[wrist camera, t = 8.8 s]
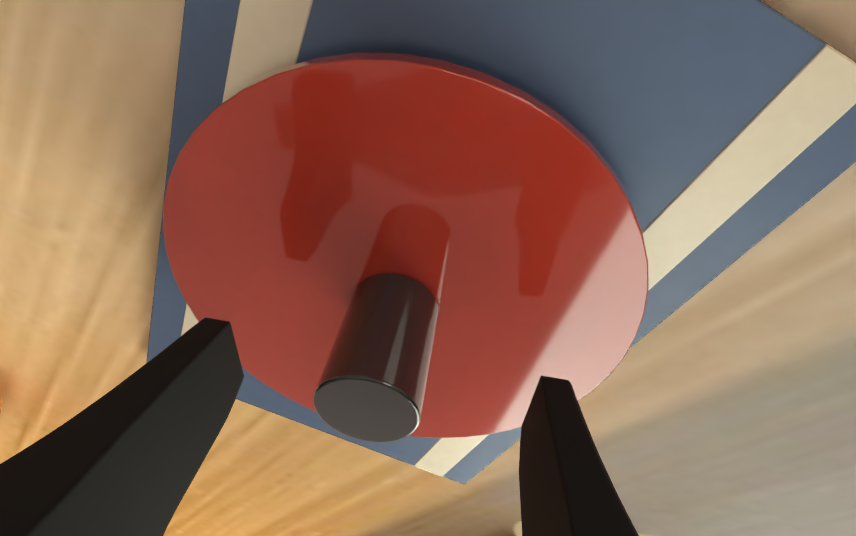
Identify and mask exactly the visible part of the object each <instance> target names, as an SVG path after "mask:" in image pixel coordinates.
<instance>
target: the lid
mask: <svg viewBox="0 0 856 536" xmlns="http://www.w3.org/2000/svg"><path fill="white" fill-rule="evenodd" d="M163 232H164V239H165V246H166V252H167V256H168V259H169V263H170V266H171V269H172V272H173V276H174V278H175V280H176V282H177V285H178V287H179V289H180V291H181V293H182V295H183V298H184V299H185V301H186V303H187V304H188V306H189V307H190V309H191V311H192V312H193V314H194V316H195V317H196V319H197V320H198V321H201V320H202V319H203V318H205V317H206V318H212V319H218V320H224V321H229V322H230V323H231V327H232V331H233V335H234V338H235V342H236V346H237V350H238V354H239V358H240V362H241V366H242V367H243V368H244V369H245V370H246V371H247V372H249V373H250V374H252V375H253V376H254V377H256V378H257V379H258V380H260V381H261V382H263V383H264V384H265V385H267V386H269V387H270V388H272V389H274V390H275V391H277V392H278V393H280V394H282V395H283V396H285V397H287V398H289V399H291V400H293V401H295V402H297V403H299V404H301V405H302V406H304V407H307V408H309V409H311V410H314V411H316V412H317V413H318V415H319V416H320V418H321V419H322V420H323V421H324V422H325V423H327V424H328V425H329V426H330V427H332V428H333V429H335V430H337V431H338V432H340V433H342V434H345V435H347V436H350V437H353V438H356V439H359V440H364V441H370V442H392V441H397V440H400V439H403V438H405V437H408V436H414V437H430V438H456V437H471V436H480V435H488V434H493V433H498V432H503V431H508V430H512V429H515V428H519V427H521V426H522V423H523V421H524V418H525V416H526V413H527V410H528V408H529V405H530V403H531V400H532V397H533V395H534V392H535V390H536V387H537V384H538V382H539V379H540V377H541V376H547V377H553V378H559V379H565V380H569V382H570V383H571V384H572V386H573V389H574V392H575V395H576V398H577V401H579V400H580V399H581V398H583V397H584V396H586V395H587V394H589V393H590V392H591V391H593V390H594V389H595V388H596V387H597V386H598V385H599V384H600V383H601V382H602V381H604V380H605V379H606V378H607V377H608V376H609V375H610V374H611V372H612V371H613V370H614V369H615V367H616V366H617V365H618V364H619V363H620V361H621V360H622V359H623V358H624V356H625V354H626V353H627V351H628V349H629V347H630V346H631V344H632V342H633V340H634V339H635V337H636V334H637V331H638V329H639V326H640V323H641V321H642V318H643V315H644V312H645V306H646V300H647V294H648V288H649V284H648V258H647V253H646V248H645V243H644V238H643V233H642V230H641V227H640V224H639V222H638V219H637V217H636V214H635V212H634V209H633V207H632V204H631V202H630V199H629V196H628V194H627V192H626V191H625V189H624V187H623V186H622V184H621V182H620V181H619V179H618V178H617V176H616V174H615V173H614V171H613V169H612V168H611V166H610V165H609V163H608V162H607V161H606V160H605V159H604V158H603V156H602V155H601V154H600V153H599V152H598V151H597V149H596V148H595V147H594V146H593V145H592V144H591V142H590V141H589V140H588V139H587V138H586V137H585V136H584V135H583V134H582V133H580V132H579V131H578V130H577V129H576V128H575V127H574V126H572V125H571V124H570V123H569V122H568V121H567V120H565V119H564V118H563V117H562V116H561V115H560V114H559V113H557V112H556V111H554V110H553V109H551V108H550V107H548V106H546V105H545V104H543V103H542V102H540V101H539V100H537V99H536V98H534V97H532V96H531V95H529V94H528V93H526V92H525V91H523V90H521V89H519V88H517V87H514V86H512V85H510V84H508V83H506V82H504V81H501V80H499V79H497V78H495V77H493V76H491V75H488V74H486V73H484V72H481V71H477V70H474V69H471V68H467V67H464V66H461V65H457V64H454V63H451V62H448V61H444V60H439V59H433V58H427V57H420V56H414V55H408V54H401V53H351V54H343V55H335V56H328V57H320V58H316V59H312V60H309V61H305V62H302V63H298V64H295V65H291V66H288V67H284V68H282V69H279V70H277V71H275V72H273V73H271V74H269V75H267V76H265V77H262V78H260V79H258V80H256V81H254V82H252V83H250V84H249V85H247V86H246V87H244V88H243V89H242V90H240V91H239V92H237V93H236V94H234V95H233V96H232V97H230V98H229V99H227V100H226V101H225V102H223V103H222V104H221V105H219V106H218V107H217V108H216V109H215V110H214V111H213V112H212V113H211V114H210V115H209V116H208V117H207V118H206V119H205V120H204V121H203V122H202V123H201V124H200V125H199V126H198V127H197V128H196V129H195V130H194V132H193V133H192V135H191V136H190V138H189V139H188V141H187V142H186V144H185V145H184V147H183V148H182V150H181V151H180V153H179V155H178V157H177V160H176V162H175V165H174V167H173V169H172V172H171V174H170V177H169V180H168V185H167V190H166V195H165V200H164V207H163Z"/></svg>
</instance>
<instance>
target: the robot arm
mask: <svg viewBox="0 0 856 536" xmlns="http://www.w3.org/2000/svg"><path fill="white" fill-rule="evenodd" d="M243 378H244V374H243V370H242V366H241V362H240V358H239V354H238V350H237V346H236V342H235V338H234V335H233V331H232V327H231V323H230V322H229V321H224V320H218V319H212V318H206V317H205V318H203V319H202V320H201V321H199V322H198V323H197V324H196V325H194V326H193V327H192V328H190V329H189V330H188V331H187V332H185V333H184V334H183V335H182V336H180V337H179V338H178V339H177V340H175V341H174V342H173V343H172V344H170V345H169V346H168V347H167V348H165V349H164V350H163V351H162V352H160V353H159V354H158V355H157V356H155V357H154V358H153V359H152V360H150V361H149V362H148V363H146V364H145V365H144V366H143V367H141V368H140V369H139V370H137V371H136V372H135V373H133V374H132V375H131V376H129V377H128V378H127V379H126V380H124V381H123V382H122V383H120V384H119V385H118V386H116V387H115V388H114V389H112V390H111V391H110V392H108V393H107V394H106V395H104V396H103V397H101V398H100V399H99V400H97V401H96V402H94V403H93V404H91V405H90V406H89V407H87V408H86V409H84V410H83V411H82V412H80V413H79V414H77V415H76V416H75V417H73V418H72V419H70V420H69V421H67V422H66V423H64V424H63V425H61V426H60V427H58V428H57V429H55V430H54V431H52V432H51V433H49V434H48V435H46V436H45V437H43V438H42V439H40V440H39V441H37V442H36V443H34V444H32V445H31V446H29V447H28V448H26V449H24V450H23V451H21V452H19V453H18V454H16V455H15V456H13V457H11V458H10V459H8V460H6V461H5V462H3V463H1V464H0V536H163V535H164V532H165V530H166V528H167V526H168V524H169V522H170V520H171V518H172V516H173V514H174V512H175V511H176V509H177V507H178V505H179V503H180V501H181V500H182V498H183V496H184V494H185V493H186V491H187V489H188V487H189V485H190V484H191V482H192V480H193V478H194V477H195V475H196V473H197V471H198V469H199V468H200V466H201V464H202V462H203V461H204V459H205V457H206V455H207V454H208V452H209V450H210V448H211V446H212V445H213V443H214V441H215V439H216V437H217V436H218V434H219V432H220V430H221V428H222V427H223V425H224V423H225V421H226V419H227V417H228V415H229V413H230V410H231V408H232V406H233V403H234V401H235V399H236V396H237V394H238V391H239V388H240V386H241V383H242V381H243ZM519 481H520V500H521V518H522V536H639V535H638V533H637V532H636V530H635V528H634V526H633V524H632V522H631V520H630V518H629V516H628V514H627V512H626V510H625V508H624V506H623V504H622V502H621V500H620V498H619V496H618V494H617V492H616V490H615V488H614V486H613V484H612V482H611V479H610V477H609V475H608V473H607V471H606V469H605V466H604V464H603V462H602V460H601V458H600V456H599V453H598V451H597V449H596V446H595V444H594V442H593V439H592V437H591V434H590V432H589V429H588V427H587V425H586V422H585V419H584V417H583V414H582V412H581V409H580V406H579V404H578V401H577V398H576V395H575V392H574V389H573V386H572V384H571V383H570V382H569V380H565V379H559V378H553V377H547V376H541V377H540V379H539V382H538V384H537V387H536V390H535V392H534V395H533V397H532V400H531V403H530V405H529V408H528V410H527V413H526V416H525V418H524V421H523V423H522V426H521V441H520V461H519Z"/></svg>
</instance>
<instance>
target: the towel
mask: <svg viewBox="0 0 856 536" xmlns="http://www.w3.org/2000/svg"><path fill="white" fill-rule="evenodd" d="M351 53H401V54H408V55H414V56H420V57H427V58H433V59H439V60H444V61H448V62H451V63H454V64H457V65H461V66H464V67H467V68H471V69H474V70H477V71H481V72H484V73H486V74H488V75H491V76H493V77H495V78H497V79H499V80H501V81H504V82H506V83H508V84H510V85H512V86H514V87H517V88H519V89H521V90H523V91H525V92H526V93H528V94H529V95H531V96H532V97H534V98H536V99H537V100H539V101H540V102H542V103H543V104H545V105H546V106H548V107H550V108H551V109H553V110H554V111H556V112H557V113H559V114H560V115H561V116H562V117H563V118H564V119H565V120H567V121H568V122H569V123H570V124H571V125H572V126H574V127H575V128H576V129H577V130H578V131H579V132H580V133H582V134H583V135H584V136H585V137H586V138H587V139H588V140H589V141H590V142H591V144H592V145H593V146H594V147H595V148H596V149H597V151H598V152H599V153H600V154H601V155H602V156H603V158H604V159H605V160H606V161H607V162H608V163H609V165H610V166H611V168H612V169H613V171H614V173H615V174H616V176H617V178H618V179H619V181H620V182H621V184H622V186H623V187H624V189H625V191H626V192H627V194H628V196H629V199H630V202H631V204H632V207H633V209H634V212H635V214H636V217H637V219H638V222H639V224H640V227H641V230H642V233H643V238H644V243H645V248H646V253H647V258H648V284H649V288H648V294H647V300H646V306H645V312H644V315H643V318H642V321H641V323H640V326H639V329H638V331H637V334H636V337H635V339H634V340H633V342H632V344H631V346H630V347H632V346H633V345H634V344H635V343H637V342H638V341H639V340H640V339H641V338H643V337H644V336H645V335H646V334H647V333H649V332H650V331H651V330H652V329H654V328H655V327H656V326H657V325H658V324H660V323H661V322H662V321H663V320H664V319H666V318H667V317H668V316H669V315H670V314H672V313H673V312H674V311H675V310H677V309H678V308H679V307H680V306H681V305H683V304H684V303H685V302H686V301H687V300H689V299H690V298H691V297H692V296H694V295H695V294H696V293H697V292H698V291H700V290H701V289H702V288H703V287H704V286H706V285H707V284H708V283H709V282H710V281H712V280H713V279H714V278H715V277H717V276H718V275H719V274H720V273H721V272H723V271H724V270H725V269H726V268H727V267H729V266H730V265H731V264H732V263H734V262H735V261H736V260H737V259H738V258H740V257H741V256H742V255H743V254H744V253H746V252H747V251H748V250H749V249H750V248H752V247H753V246H754V245H755V244H757V243H758V242H759V241H760V240H761V239H763V238H764V237H765V236H766V235H767V234H769V233H770V232H771V231H772V230H774V229H775V228H776V227H777V226H778V225H780V224H781V223H782V222H783V221H784V220H786V219H787V218H788V217H789V216H790V215H792V214H793V213H794V212H795V211H797V210H798V209H799V208H800V207H801V206H803V205H804V204H805V203H806V202H807V201H809V200H810V199H811V198H812V197H813V196H815V195H816V194H817V193H818V192H820V191H821V190H822V189H823V188H824V187H826V186H827V185H828V184H829V183H830V182H832V181H833V180H834V179H835V178H837V177H838V176H839V175H840V174H841V173H843V172H844V171H845V170H846V169H847V168H849V167H850V166H851V165H852V164H853V163H855V162H856V62H854V61H853V60H851V59H850V58H848V57H847V56H845V55H844V54H842V53H840V52H839V51H837V50H836V49H834V48H833V47H831V46H830V45H828V44H826V43H825V42H823V41H822V40H820V39H819V38H817V37H816V36H814V35H812V34H811V33H809V32H808V31H806V30H805V29H803V28H802V27H800V26H799V25H797V24H795V23H794V22H792V21H791V20H789V19H788V18H786V17H785V16H783V15H782V14H780V13H778V12H777V11H775V10H774V9H772V8H771V7H769V6H768V5H766V4H765V3H763V2H761V1H760V0H185V7H184V17H183V26H182V35H181V45H180V54H179V63H178V73H177V82H176V91H175V101H174V110H173V119H172V129H171V138H170V148H169V157H168V166H167V176H166V185H165V194H164V200H165V195H166V190H167V185H168V180H169V177H170V174H171V172H172V169H173V167H174V165H175V162H176V160H177V157H178V155H179V153H180V151H181V150H182V148H183V147H184V145H185V144H186V142H187V141H188V139H189V138H190V136H191V135H192V133H193V132H194V130H195V129H196V128H197V127H198V126H199V125H200V124H201V123H202V122H203V121H204V120H205V119H206V118H207V117H208V116H209V115H210V114H211V113H212V112H213V111H214V110H215V109H216V108H217V107H218V106H219V105H221V104H222V103H223V102H225V101H226V100H227V99H229V98H230V97H232V96H233V95H234V94H236V93H237V92H239V91H240V90H242V89H243V88H244V87H246V86H247V85H249V84H250V83H252V82H254V81H256V80H258V79H260V78H262V77H265V76H267V75H269V74H271V73H273V72H275V71H277V70H279V69H282V68H284V67H288V66H291V65H295V64H298V63H302V62H305V61H309V60H312V59H316V58H320V57H328V56H335V55H343V54H351ZM163 207H164V204H163ZM198 322H199V321H198V320H197V319H196V317H195V316H194V314H193V312H192V311H191V309H190V307H189V306H188V304H187V303H186V301H185V299H184V298H183V295H182V293H181V291H180V289H179V287H178V285H177V282H176V280H175V278H174V276H173V272H172V269H171V266H170V263H169V259H168V256H167V252H166V246H165V239H164V232H163V213H162V222H161V232H160V241H159V250H158V260H157V269H156V278H155V288H154V297H153V306H152V316H151V325H150V334H149V344H148V353H147V363H148V362H149V361H150V360H152V359H153V358H154V357H155V356H157V355H158V354H159V353H160V352H162V351H163V350H164V349H165V348H167V347H168V346H169V345H170V344H172V343H173V342H174V341H175V340H177V339H178V338H179V337H180V336H182V335H183V334H184V333H185V332H187V331H188V330H189V329H190V328H192V327H193V326H194V325H196V324H197V323H198ZM630 347H629V348H630ZM242 370H243V374H244V378H243V381H242V383H241V386H240V388H239V391H238V394H237V396H236V399H238V400H240V401H243V402H246V403H248V404H251V405H254V406H256V407H259V408H262V409H264V410H267V411H270V412H272V413H275V414H278V415H280V416H283V417H286V418H288V419H291V420H294V421H296V422H299V423H302V424H304V425H307V426H310V427H312V428H315V429H318V430H320V431H323V432H326V433H328V434H331V435H334V436H336V437H339V438H342V439H344V440H347V441H350V442H352V443H355V444H358V445H360V446H363V447H366V448H368V449H371V450H374V451H376V452H379V453H382V454H384V455H387V456H390V457H392V458H395V459H398V460H400V461H403V462H406V463H408V464H411V465H414V467H417V468H419V469H422V470H425V471H427V472H430V473H433V474H435V475H438V476H441V477H442V476H443V477H446V478H448V479H451V480H454V481H456V482H459V483H462V484H466V483H467V482H468V481H469V480H471V479H472V478H473V477H474V476H475V475H477V474H478V473H479V472H480V471H481V470H483V469H484V468H485V467H486V466H487V465H489V464H490V463H491V462H492V461H494V460H495V459H496V458H497V457H498V456H500V455H501V454H502V453H503V452H504V451H506V450H507V449H508V448H509V447H511V446H512V445H513V444H514V443H515V442H517V441H518V440H519V439H520V438H521V427H519V428H515V429H512V430H508V431H503V432H498V433H493V434H488V435H480V436H471V437H456V438H430V437H414V436H408V437H405V438H403V439H400V440H397V441H392V442H370V441H364V440H359V439H356V438H353V437H350V436H347V435H345V434H342V433H340V432H338V431H337V430H335V429H333V428H332V427H330V426H329V425H328V424H327V423H325V422H324V421H323V420H322V419H321V418H320V416H319V415H318V413H317V412H316V411H314V410H311V409H309V408H307V407H304V406H302V405H301V404H299V403H297V402H295V401H293V400H291V399H289V398H287V397H285V396H283V395H282V394H280V393H278V392H277V391H275V390H274V389H272V388H270V387H269V386H267V385H265V384H264V383H263V382H261V381H260V380H258V379H257V378H256V377H254V376H253V375H252V374H250V373H249V372H247V371H246V370H245V369H244V368H243V367H242Z"/></svg>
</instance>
